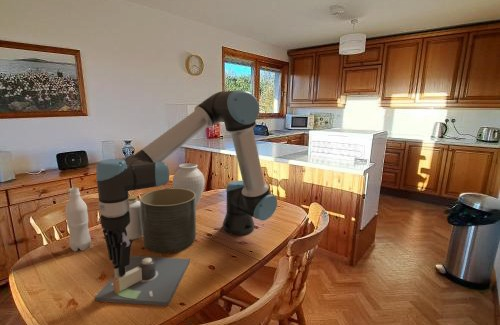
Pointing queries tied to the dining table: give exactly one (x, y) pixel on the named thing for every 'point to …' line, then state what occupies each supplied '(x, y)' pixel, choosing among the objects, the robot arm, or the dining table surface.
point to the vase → (189, 179)
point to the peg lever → (135, 275)
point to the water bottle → (77, 221)
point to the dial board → (149, 283)
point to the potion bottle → (134, 219)
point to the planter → (168, 219)
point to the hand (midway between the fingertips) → (121, 283)
